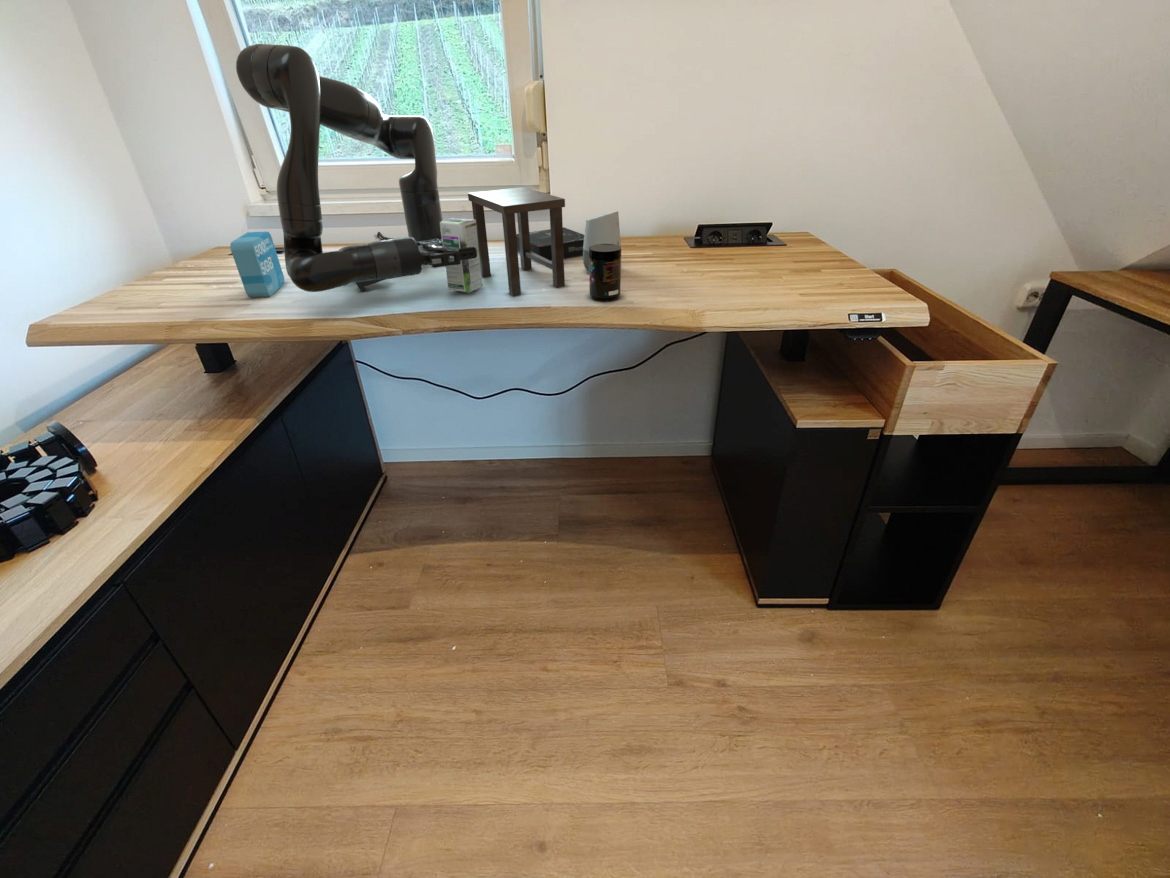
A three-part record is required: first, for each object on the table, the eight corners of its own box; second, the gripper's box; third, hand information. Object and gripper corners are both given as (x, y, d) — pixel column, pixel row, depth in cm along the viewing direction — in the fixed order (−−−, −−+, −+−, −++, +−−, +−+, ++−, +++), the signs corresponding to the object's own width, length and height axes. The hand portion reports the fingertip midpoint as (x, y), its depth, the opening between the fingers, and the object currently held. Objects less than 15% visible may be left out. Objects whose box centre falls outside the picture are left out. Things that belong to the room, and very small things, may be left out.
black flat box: (563, 241, 163) (562, 226, 161) (593, 253, 151) (593, 238, 149) (512, 249, 156) (511, 234, 154) (540, 262, 144) (539, 246, 142)
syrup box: (447, 290, 123) (437, 221, 115) (462, 283, 128) (453, 216, 120) (469, 293, 121) (461, 223, 114) (483, 285, 126) (476, 218, 118)
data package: (269, 298, 123) (250, 242, 116) (247, 299, 122) (227, 243, 116) (286, 282, 133) (269, 229, 126) (266, 283, 132) (248, 230, 126)
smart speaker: (594, 264, 142) (594, 205, 134) (627, 268, 138) (628, 208, 130) (576, 273, 135) (574, 212, 127) (609, 278, 131) (610, 216, 123)
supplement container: (606, 290, 124) (606, 241, 118) (627, 297, 119) (628, 247, 114) (583, 296, 120) (582, 247, 115) (603, 304, 116) (603, 253, 110)
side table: (477, 275, 135) (467, 192, 125) (529, 266, 141) (523, 186, 131) (511, 297, 121) (503, 206, 111) (567, 286, 126) (565, 198, 116)
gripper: (400, 246, 107) (479, 236, 114) (381, 233, 117) (455, 224, 124) (407, 285, 111) (483, 273, 118) (388, 268, 121) (459, 258, 128)
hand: (468, 248), depth 121 cm, fingers open, 8 cm apart
